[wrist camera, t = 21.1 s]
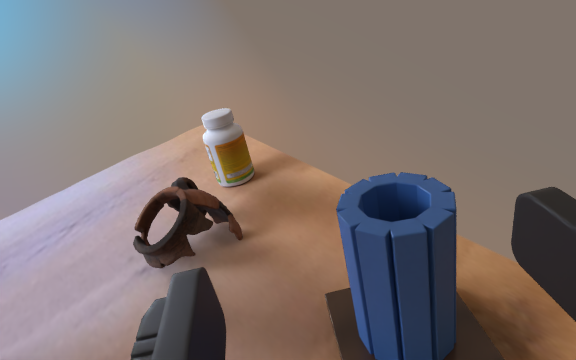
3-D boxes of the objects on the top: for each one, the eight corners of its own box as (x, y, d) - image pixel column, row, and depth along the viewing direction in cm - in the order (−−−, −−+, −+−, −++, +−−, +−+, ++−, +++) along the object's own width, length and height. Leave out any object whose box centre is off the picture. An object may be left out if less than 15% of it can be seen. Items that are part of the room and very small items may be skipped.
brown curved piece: (258, 255, 37) (201, 219, 32) (189, 307, 39) (123, 282, 33) (231, 182, 46) (182, 144, 41) (175, 227, 48) (121, 196, 42)
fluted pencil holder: (439, 388, 21) (434, 248, 16) (342, 344, 24) (315, 220, 20) (467, 310, 25) (470, 180, 20) (380, 282, 28) (365, 167, 24)
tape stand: (512, 389, 21) (527, 263, 17) (359, 426, 21) (333, 310, 17) (439, 280, 29) (436, 175, 25) (327, 307, 29) (304, 207, 25)
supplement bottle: (262, 169, 53) (244, 105, 49) (240, 189, 50) (219, 121, 45) (232, 167, 56) (213, 106, 52) (210, 186, 52) (187, 121, 48)
